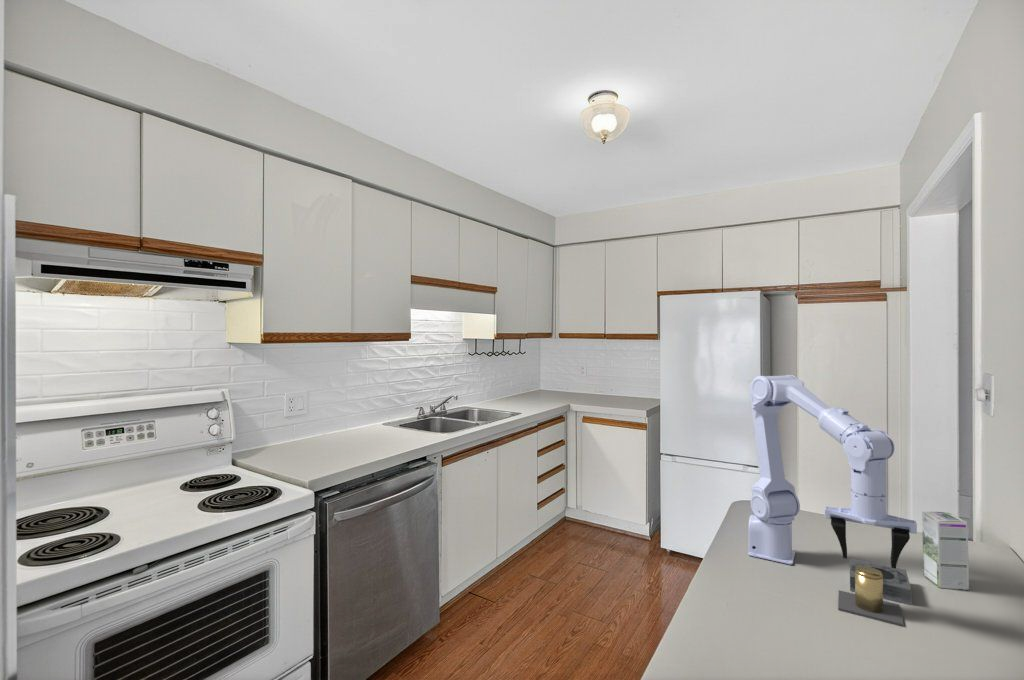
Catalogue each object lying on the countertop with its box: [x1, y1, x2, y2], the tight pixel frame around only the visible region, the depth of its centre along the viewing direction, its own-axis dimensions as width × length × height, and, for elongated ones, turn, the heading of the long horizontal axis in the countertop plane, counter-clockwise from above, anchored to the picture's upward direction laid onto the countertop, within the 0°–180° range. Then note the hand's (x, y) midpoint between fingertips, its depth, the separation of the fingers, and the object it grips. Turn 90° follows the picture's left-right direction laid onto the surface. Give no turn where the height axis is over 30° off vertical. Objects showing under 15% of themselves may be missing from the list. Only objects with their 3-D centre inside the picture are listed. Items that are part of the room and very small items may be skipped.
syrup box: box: [921, 511, 970, 591], centre depth 105 cm, size 6×6×14 cm
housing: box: [849, 557, 912, 605], centre depth 104 cm, size 10×10×3 cm
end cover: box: [854, 566, 884, 613], centre depth 96 cm, size 4×4×7 cm
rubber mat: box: [837, 590, 904, 627], centre depth 96 cm, size 10×8×1 cm
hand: (868, 561), depth 96 cm, fingers open, 7 cm apart
